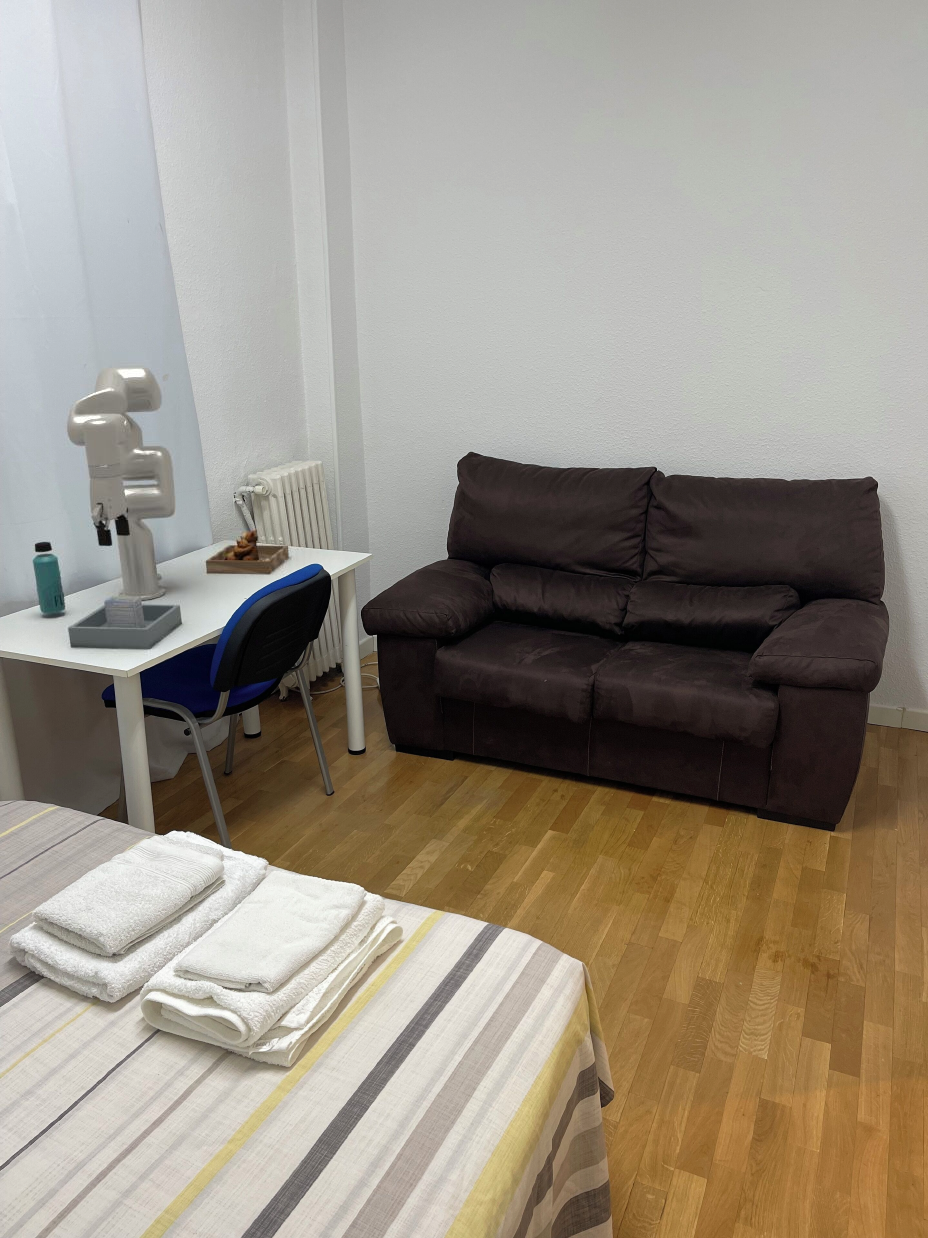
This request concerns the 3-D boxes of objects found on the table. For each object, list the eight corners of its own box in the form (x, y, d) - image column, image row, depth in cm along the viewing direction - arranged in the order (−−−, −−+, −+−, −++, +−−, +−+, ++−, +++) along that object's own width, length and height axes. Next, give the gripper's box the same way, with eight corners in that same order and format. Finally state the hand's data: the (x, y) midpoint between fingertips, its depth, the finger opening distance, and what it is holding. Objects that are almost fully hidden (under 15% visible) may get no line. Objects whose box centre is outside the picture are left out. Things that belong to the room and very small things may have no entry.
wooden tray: (230, 556, 319) (229, 545, 318) (288, 557, 317) (288, 545, 316) (206, 573, 299) (205, 560, 298) (269, 574, 297) (268, 561, 296)
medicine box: (145, 629, 244) (141, 596, 241) (138, 634, 240) (134, 601, 237) (115, 628, 245) (111, 595, 242) (108, 634, 241) (103, 600, 238)
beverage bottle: (57, 619, 257) (46, 545, 250) (35, 618, 258) (23, 545, 252) (71, 612, 263) (61, 540, 257) (50, 610, 264) (39, 539, 258)
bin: (108, 622, 253) (106, 603, 252) (181, 623, 251) (179, 605, 250) (70, 647, 235) (67, 627, 233) (149, 649, 232) (147, 629, 231)
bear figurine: (228, 562, 313) (225, 525, 309) (273, 563, 311) (271, 526, 308) (214, 573, 300) (210, 535, 296) (260, 574, 299) (257, 535, 295)
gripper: (106, 464, 240) (115, 531, 245) (72, 477, 223) (83, 549, 229) (135, 464, 239) (144, 531, 244) (103, 478, 223) (113, 550, 228)
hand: (114, 540), depth 237 cm, fingers open, 9 cm apart
